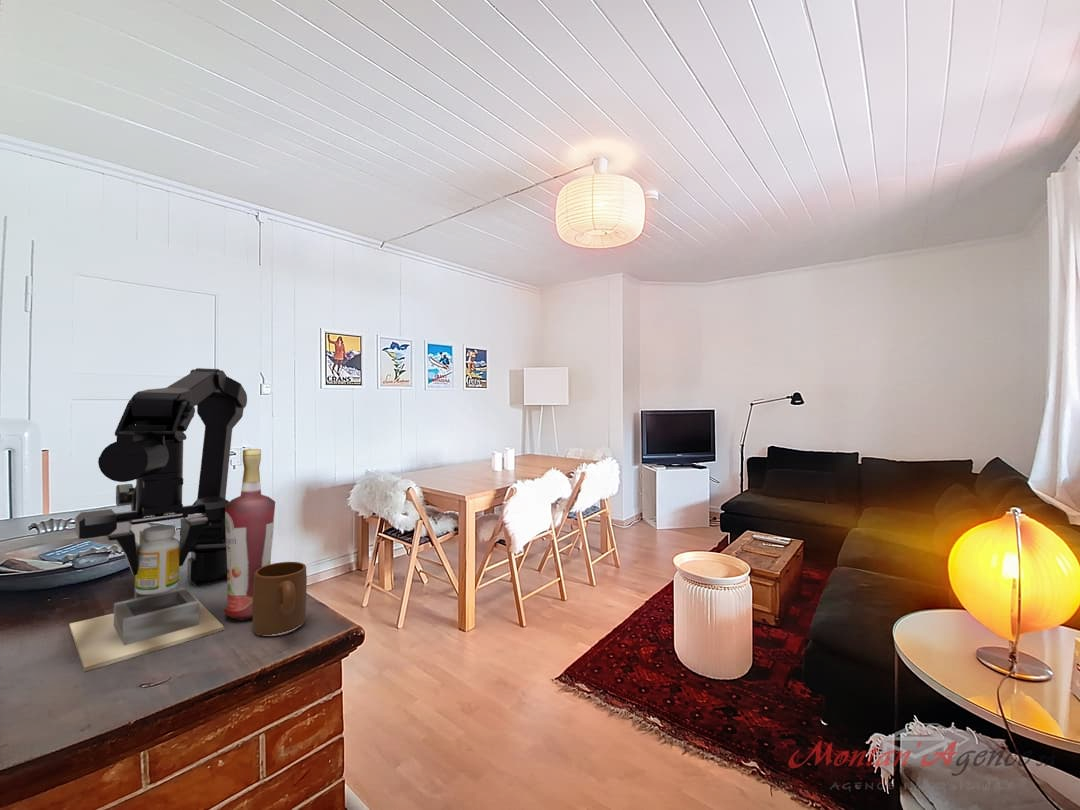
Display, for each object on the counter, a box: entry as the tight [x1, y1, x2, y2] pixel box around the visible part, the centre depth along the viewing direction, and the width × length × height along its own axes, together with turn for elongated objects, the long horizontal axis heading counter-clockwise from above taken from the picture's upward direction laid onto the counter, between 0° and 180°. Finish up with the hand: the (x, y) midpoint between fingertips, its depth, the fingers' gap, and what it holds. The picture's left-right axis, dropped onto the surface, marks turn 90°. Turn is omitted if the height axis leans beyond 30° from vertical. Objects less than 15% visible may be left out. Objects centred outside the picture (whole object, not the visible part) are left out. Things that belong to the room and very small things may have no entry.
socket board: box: [69, 544, 225, 673], centre depth 75 cm, size 16×18×11 cm
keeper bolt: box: [114, 510, 152, 545], centre depth 86 cm, size 4×17×3 cm, turn 49°
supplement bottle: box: [136, 524, 180, 595], centre depth 75 cm, size 5×5×10 cm
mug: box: [252, 561, 308, 636], centre depth 75 cm, size 12×8×9 cm, turn 37°
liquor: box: [223, 448, 276, 621], centre depth 81 cm, size 7×7×28 cm
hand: (158, 569), depth 75 cm, fingers closed on supplement bottle, 5 cm apart
